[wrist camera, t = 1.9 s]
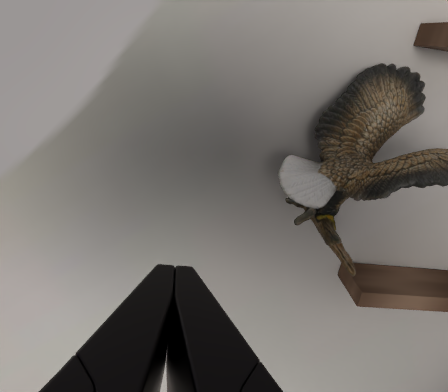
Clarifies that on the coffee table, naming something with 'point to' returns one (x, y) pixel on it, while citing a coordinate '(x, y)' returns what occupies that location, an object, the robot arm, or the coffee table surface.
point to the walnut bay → (402, 276)
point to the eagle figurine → (361, 152)
